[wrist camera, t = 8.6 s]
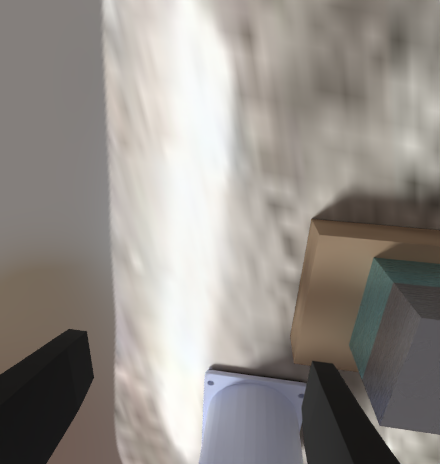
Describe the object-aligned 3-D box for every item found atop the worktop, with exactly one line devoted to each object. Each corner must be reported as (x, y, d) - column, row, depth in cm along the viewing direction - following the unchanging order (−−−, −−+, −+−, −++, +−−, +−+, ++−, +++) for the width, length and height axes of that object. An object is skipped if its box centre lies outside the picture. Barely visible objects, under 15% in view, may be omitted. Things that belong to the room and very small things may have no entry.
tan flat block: (437, 354, 20) (460, 385, 18) (290, 336, 21) (293, 363, 19) (489, 234, 17) (526, 254, 15) (311, 218, 18) (319, 234, 16)
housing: (418, 353, 18) (474, 439, 13) (348, 345, 18) (379, 425, 13) (453, 265, 15) (538, 331, 11) (373, 257, 16) (421, 317, 11)
